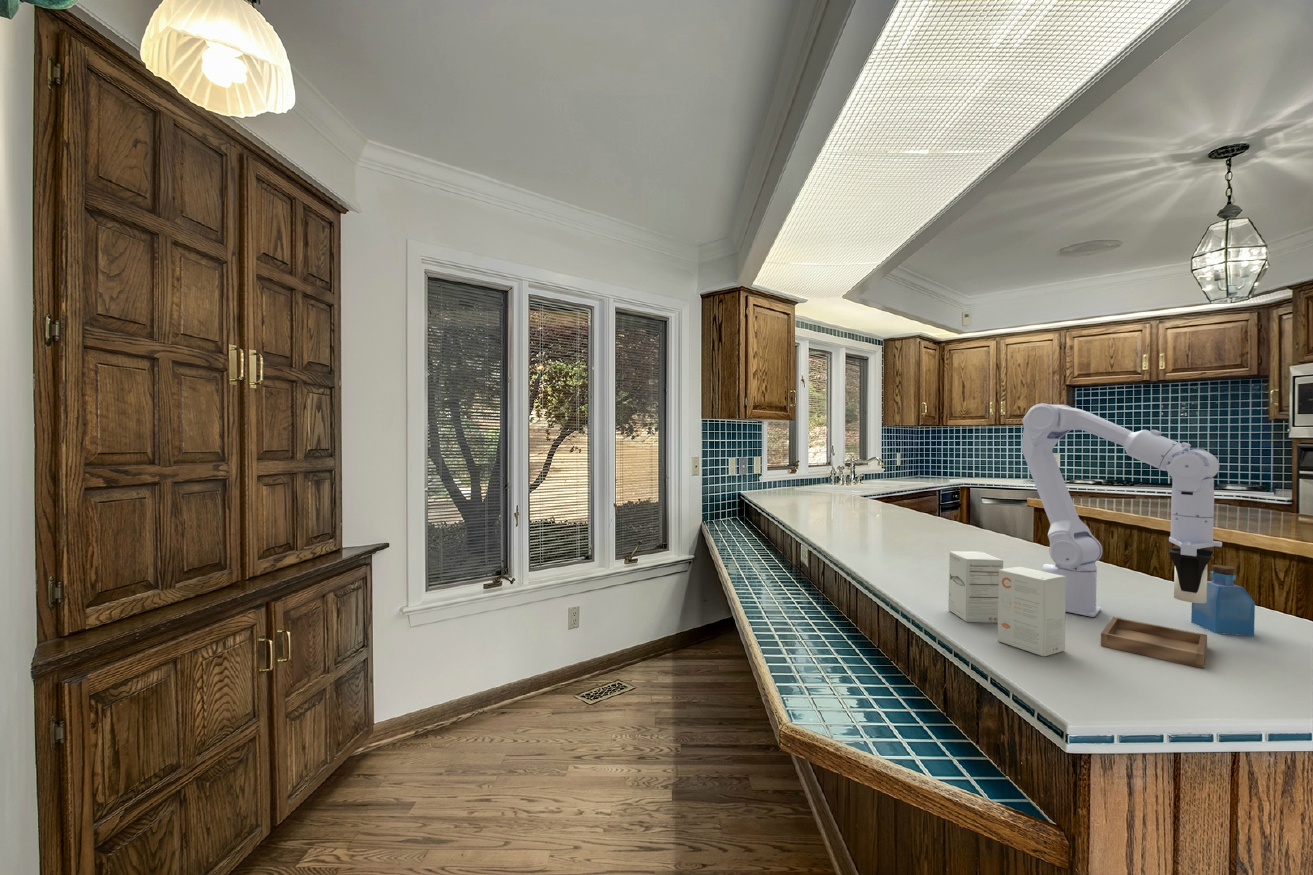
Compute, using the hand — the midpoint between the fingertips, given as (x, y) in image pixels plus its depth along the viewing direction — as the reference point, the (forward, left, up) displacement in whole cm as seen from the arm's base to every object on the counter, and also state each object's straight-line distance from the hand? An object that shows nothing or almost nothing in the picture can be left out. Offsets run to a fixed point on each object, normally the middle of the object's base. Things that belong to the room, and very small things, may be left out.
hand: (1190, 589), depth 105 cm
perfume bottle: (+4, +11, -9) cm, 15 cm away
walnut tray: (-4, -11, -9) cm, 15 cm away
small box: (-19, -27, -9) cm, 34 cm away
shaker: (0, 0, -2) cm, 2 cm away
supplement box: (-31, -17, -9) cm, 36 cm away
